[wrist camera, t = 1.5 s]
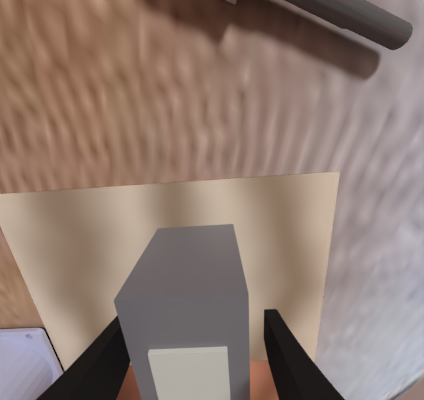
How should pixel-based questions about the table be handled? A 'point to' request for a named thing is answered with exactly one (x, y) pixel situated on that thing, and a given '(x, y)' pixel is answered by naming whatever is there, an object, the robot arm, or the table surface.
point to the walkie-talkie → (359, 19)
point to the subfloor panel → (168, 218)
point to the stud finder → (188, 316)
